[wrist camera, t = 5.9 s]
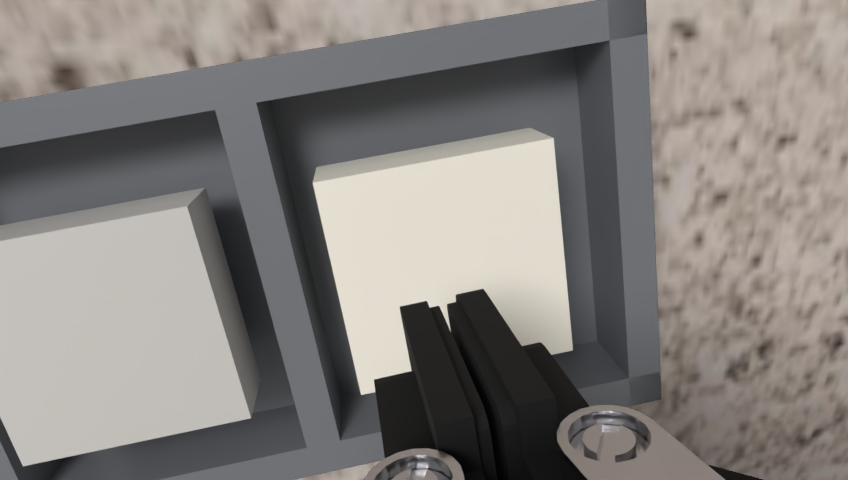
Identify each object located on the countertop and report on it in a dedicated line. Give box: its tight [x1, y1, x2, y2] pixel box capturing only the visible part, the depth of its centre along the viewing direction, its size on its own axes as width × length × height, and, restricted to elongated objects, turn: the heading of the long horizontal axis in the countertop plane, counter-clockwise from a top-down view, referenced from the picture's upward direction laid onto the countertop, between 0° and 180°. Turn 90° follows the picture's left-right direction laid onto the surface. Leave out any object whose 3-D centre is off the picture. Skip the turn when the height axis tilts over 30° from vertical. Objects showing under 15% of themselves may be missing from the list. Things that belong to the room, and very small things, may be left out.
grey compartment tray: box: [0, 0, 661, 480], centre depth 18 cm, size 30×12×4 cm, turn 99°
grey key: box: [0, 188, 261, 466], centre depth 16 cm, size 6×6×2 cm
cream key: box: [313, 128, 573, 395], centre depth 17 cm, size 6×6×2 cm
